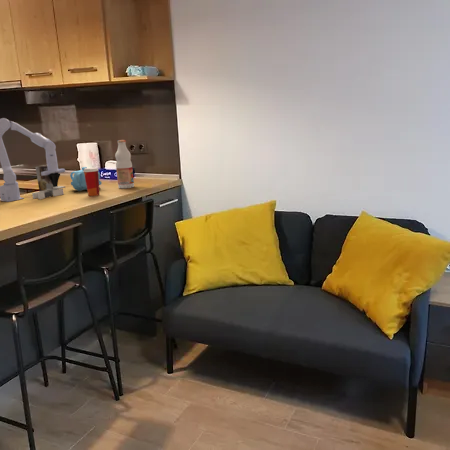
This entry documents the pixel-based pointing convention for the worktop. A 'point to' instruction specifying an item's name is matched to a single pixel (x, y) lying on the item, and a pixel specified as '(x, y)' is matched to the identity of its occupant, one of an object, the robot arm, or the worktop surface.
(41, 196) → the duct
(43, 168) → the coffee box
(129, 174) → the fruit juice
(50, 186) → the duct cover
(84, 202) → the worktop surface
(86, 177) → the coffee cup
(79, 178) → the decorative pot
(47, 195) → the gray block
